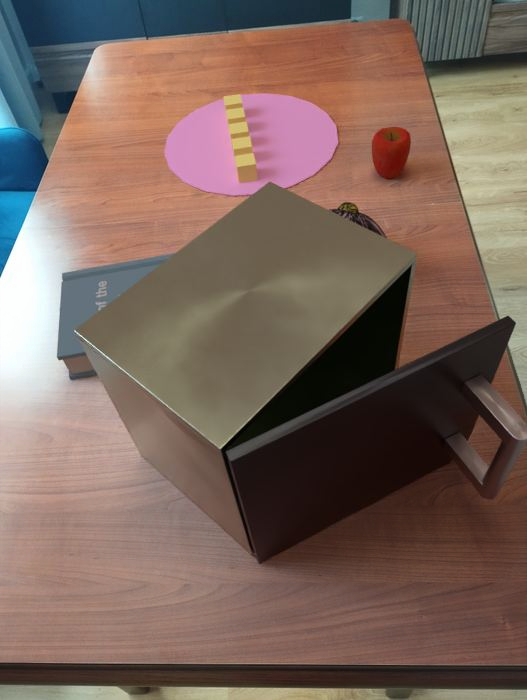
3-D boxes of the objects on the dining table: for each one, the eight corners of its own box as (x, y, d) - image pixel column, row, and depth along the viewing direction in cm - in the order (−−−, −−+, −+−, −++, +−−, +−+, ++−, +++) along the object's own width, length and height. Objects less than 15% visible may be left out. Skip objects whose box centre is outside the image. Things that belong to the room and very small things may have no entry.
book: (70, 379, 77) (56, 357, 73) (74, 292, 87) (62, 268, 83) (239, 348, 78) (235, 324, 74) (224, 265, 88) (219, 240, 84)
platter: (167, 209, 97) (163, 192, 94) (161, 107, 116) (157, 91, 114) (357, 179, 97) (358, 162, 95) (319, 83, 117) (319, 66, 114)
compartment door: (504, 507, 62) (581, 384, 43) (290, 628, 56) (274, 547, 38) (457, 449, 66) (508, 314, 48) (255, 555, 61) (225, 451, 42)
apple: (386, 156, 101) (390, 116, 95) (415, 171, 98) (421, 130, 92) (362, 173, 98) (364, 133, 92) (390, 188, 95) (395, 148, 89)
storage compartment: (393, 395, 71) (418, 253, 53) (252, 555, 61) (220, 449, 42) (282, 325, 80) (269, 180, 61) (141, 456, 69) (73, 330, 50)
